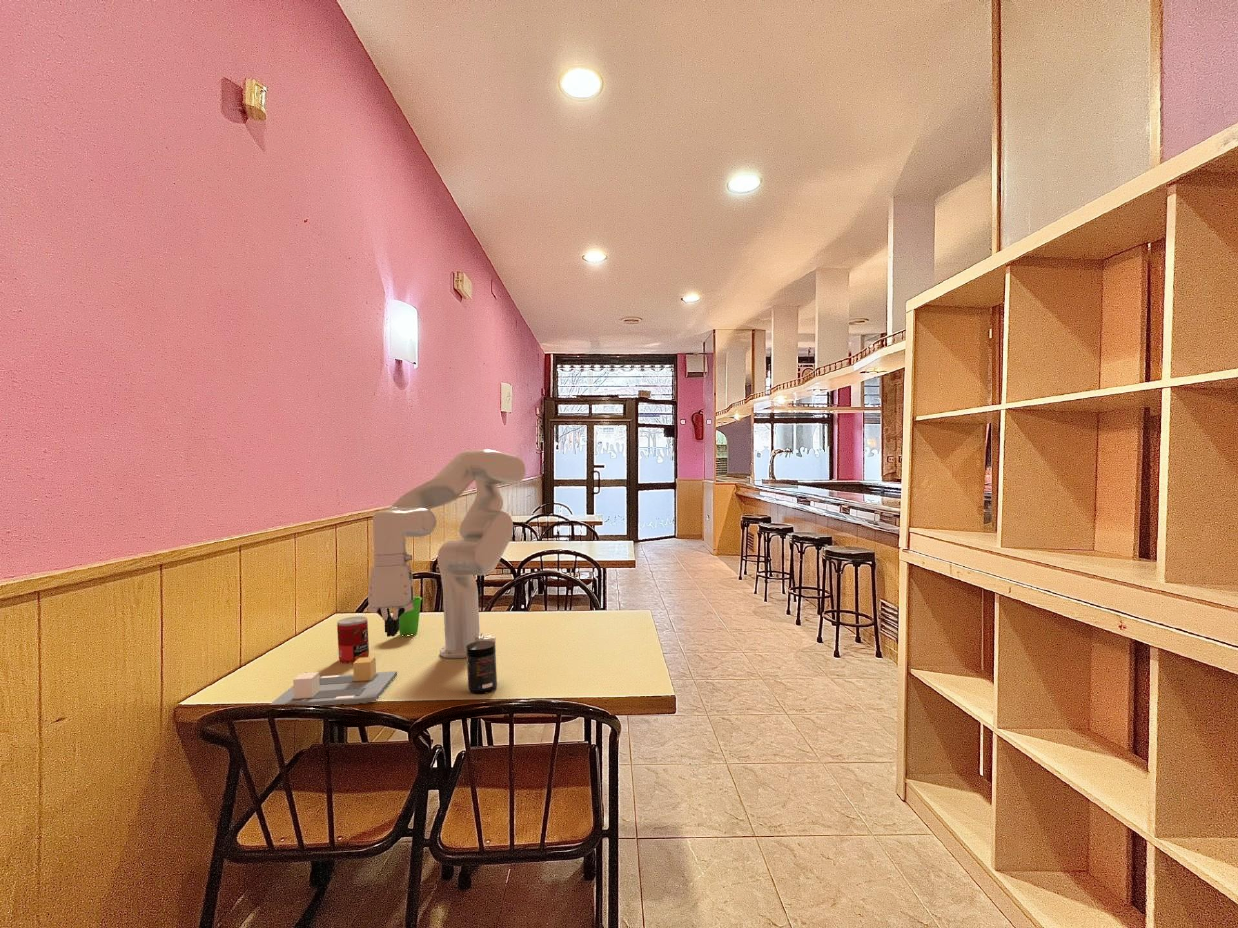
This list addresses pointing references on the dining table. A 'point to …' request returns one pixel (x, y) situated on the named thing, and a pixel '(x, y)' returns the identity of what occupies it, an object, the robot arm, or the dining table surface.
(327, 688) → the switch board
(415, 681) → the dining table surface
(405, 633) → the cup
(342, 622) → the canned food
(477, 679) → the supplement container
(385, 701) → the dining table surface
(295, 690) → the pale pink cube
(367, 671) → the orange cube
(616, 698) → the dining table surface
